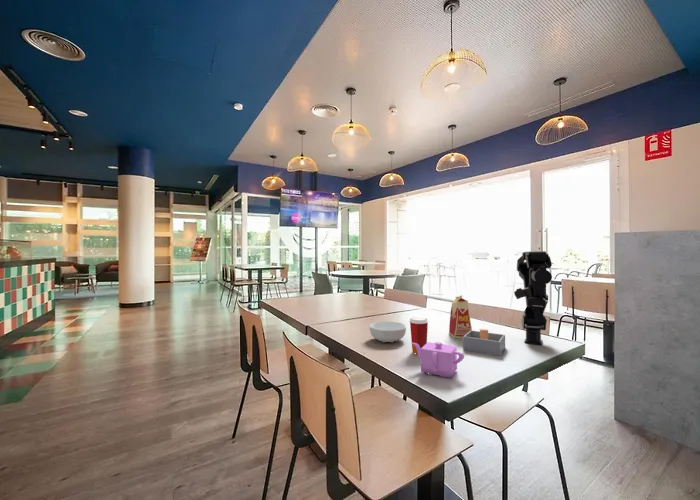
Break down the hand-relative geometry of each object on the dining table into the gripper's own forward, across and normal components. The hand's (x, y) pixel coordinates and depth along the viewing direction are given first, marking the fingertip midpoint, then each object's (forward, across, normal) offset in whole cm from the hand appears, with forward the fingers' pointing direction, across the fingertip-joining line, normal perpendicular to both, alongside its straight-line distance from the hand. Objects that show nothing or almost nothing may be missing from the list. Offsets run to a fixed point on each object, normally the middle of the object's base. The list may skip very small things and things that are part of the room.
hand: (538, 320), depth 122 cm
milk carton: (+13, -6, -33) cm, 36 cm away
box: (+12, +9, -19) cm, 24 cm away
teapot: (+13, +43, -27) cm, 52 cm away
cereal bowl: (+13, +20, -59) cm, 64 cm away
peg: (+12, +9, -19) cm, 24 cm away
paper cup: (+13, +28, -40) cm, 50 cm away
